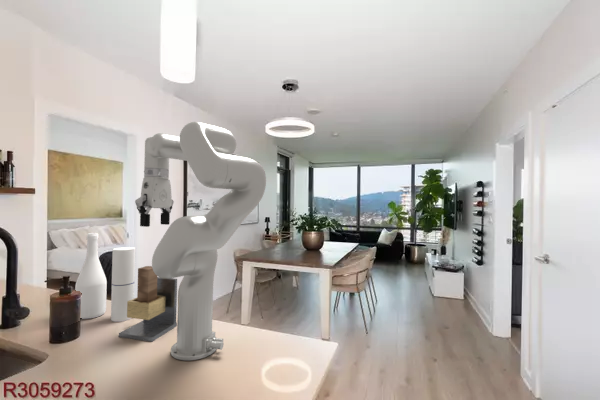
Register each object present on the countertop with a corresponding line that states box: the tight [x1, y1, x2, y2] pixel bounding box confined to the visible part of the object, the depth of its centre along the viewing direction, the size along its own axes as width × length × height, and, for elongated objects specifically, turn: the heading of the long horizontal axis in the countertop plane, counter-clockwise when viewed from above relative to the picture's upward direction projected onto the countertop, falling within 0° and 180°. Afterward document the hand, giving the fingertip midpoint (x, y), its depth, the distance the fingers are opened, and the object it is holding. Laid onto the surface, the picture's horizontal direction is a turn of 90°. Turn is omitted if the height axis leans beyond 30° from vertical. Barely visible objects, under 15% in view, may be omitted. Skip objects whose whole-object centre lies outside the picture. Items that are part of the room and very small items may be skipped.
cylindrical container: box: [110, 246, 136, 323], centre depth 109 cm, size 7×7×25 cm
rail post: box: [136, 265, 158, 303], centre depth 97 cm, size 4×4×14 cm
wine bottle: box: [74, 232, 108, 320], centre depth 111 cm, size 10×10×30 cm
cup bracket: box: [118, 276, 178, 343], centre depth 98 cm, size 12×12×16 cm
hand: (155, 225), depth 102 cm, fingers open, 9 cm apart
